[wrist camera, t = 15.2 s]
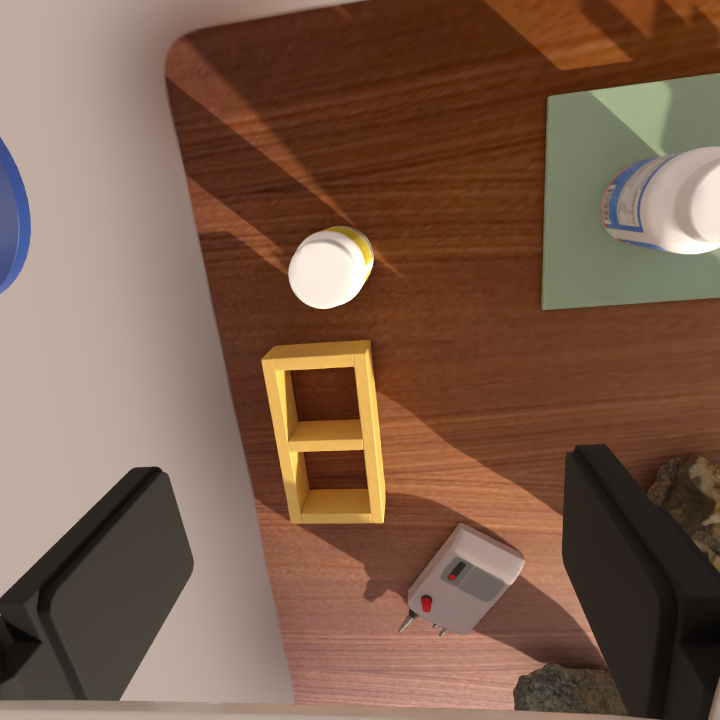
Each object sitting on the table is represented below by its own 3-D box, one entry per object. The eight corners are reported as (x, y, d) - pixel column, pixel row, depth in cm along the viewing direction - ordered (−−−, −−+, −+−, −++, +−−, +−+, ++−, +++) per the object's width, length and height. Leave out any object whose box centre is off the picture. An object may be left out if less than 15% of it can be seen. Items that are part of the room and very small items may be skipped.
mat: (540, 308, 34) (542, 310, 33) (547, 97, 29) (549, 95, 29) (717, 296, 32) (722, 297, 31) (752, 69, 27) (758, 67, 27)
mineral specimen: (811, 522, 37) (945, 631, 27) (687, 613, 41) (766, 734, 32) (675, 428, 36) (767, 508, 26) (561, 532, 40) (606, 633, 31)
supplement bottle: (314, 221, 33) (283, 228, 26) (377, 228, 33) (365, 237, 25) (310, 285, 35) (279, 310, 27) (370, 293, 35) (357, 320, 27)
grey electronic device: (535, 540, 40) (544, 565, 38) (444, 644, 46) (446, 673, 43) (470, 506, 40) (475, 529, 37) (387, 616, 45) (385, 643, 43)
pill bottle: (702, 199, 30) (831, 199, 20) (632, 260, 31) (722, 285, 22) (649, 139, 29) (757, 110, 20) (580, 205, 31) (650, 207, 21)
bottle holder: (300, 498, 42) (290, 523, 39) (274, 345, 37) (260, 359, 34) (386, 497, 41) (383, 523, 38) (370, 339, 36) (366, 353, 33)
